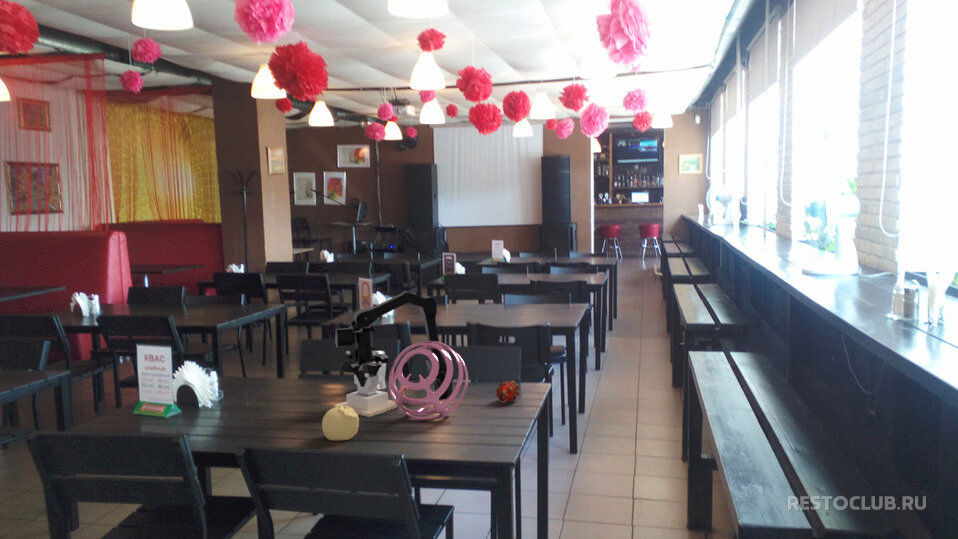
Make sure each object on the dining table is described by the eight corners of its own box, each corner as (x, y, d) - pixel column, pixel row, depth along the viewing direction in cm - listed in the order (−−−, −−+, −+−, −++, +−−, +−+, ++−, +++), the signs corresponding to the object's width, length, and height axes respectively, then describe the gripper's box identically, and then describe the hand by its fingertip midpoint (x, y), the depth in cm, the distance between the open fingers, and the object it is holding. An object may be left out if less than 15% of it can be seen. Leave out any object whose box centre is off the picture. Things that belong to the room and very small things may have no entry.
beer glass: (385, 389, 284) (383, 353, 283) (368, 390, 284) (366, 354, 283) (388, 385, 291) (386, 350, 290) (371, 386, 291) (369, 350, 290)
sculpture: (363, 440, 224) (361, 408, 223) (325, 446, 220) (323, 413, 219) (357, 430, 235) (355, 398, 234) (321, 435, 231) (318, 403, 230)
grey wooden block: (379, 395, 259) (378, 375, 258) (371, 397, 256) (370, 377, 255) (363, 391, 265) (362, 372, 264) (355, 394, 262) (353, 374, 261)
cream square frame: (401, 405, 261) (401, 392, 260) (369, 417, 248) (368, 402, 248) (366, 398, 273) (365, 385, 273) (333, 408, 261) (332, 394, 261)
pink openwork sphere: (424, 348, 268) (399, 319, 245) (488, 370, 257) (468, 342, 234) (392, 415, 258) (363, 391, 235) (458, 441, 247) (433, 419, 224)
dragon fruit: (517, 401, 266) (504, 414, 256) (499, 387, 268) (486, 400, 257) (527, 385, 262) (515, 398, 252) (509, 371, 264) (497, 384, 254)
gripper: (368, 337, 271) (371, 377, 272) (330, 347, 257) (333, 388, 258) (388, 340, 264) (390, 380, 265) (350, 350, 249) (352, 392, 251)
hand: (366, 385), depth 260 cm, fingers closed on grey wooden block, 4 cm apart
